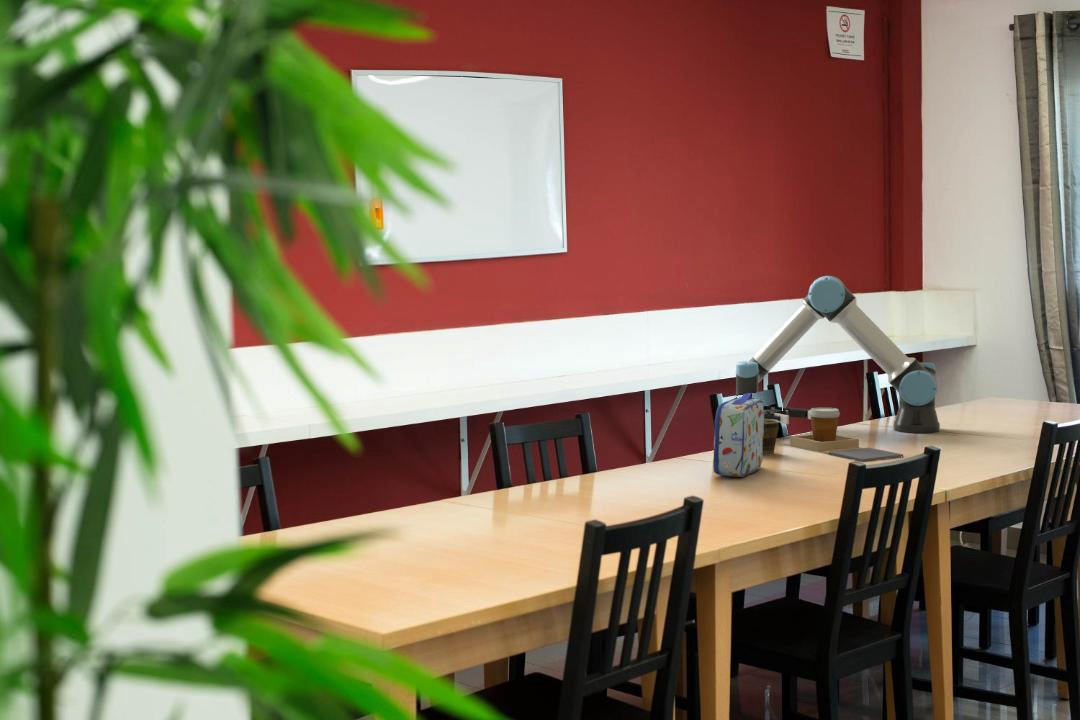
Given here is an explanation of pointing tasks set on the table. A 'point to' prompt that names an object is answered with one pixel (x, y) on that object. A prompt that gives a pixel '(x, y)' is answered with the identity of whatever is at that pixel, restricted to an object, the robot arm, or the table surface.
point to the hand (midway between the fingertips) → (805, 418)
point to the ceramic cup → (769, 436)
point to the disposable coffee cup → (824, 423)
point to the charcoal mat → (865, 454)
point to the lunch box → (738, 436)
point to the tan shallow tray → (824, 443)
